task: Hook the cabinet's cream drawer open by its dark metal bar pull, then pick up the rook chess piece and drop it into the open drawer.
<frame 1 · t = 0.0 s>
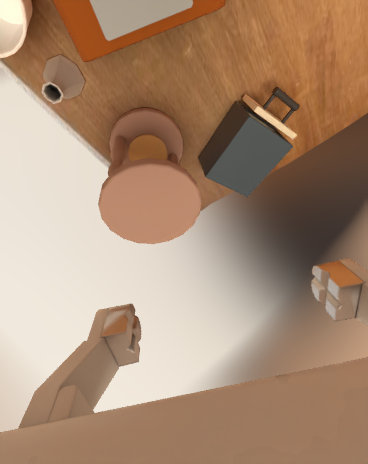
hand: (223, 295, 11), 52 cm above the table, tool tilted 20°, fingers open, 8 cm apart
hourglass: (146, 144, 59), on the table
drawer: (255, 134, 56), point 5 cm above the table, slide at 1.0 cm
cabinet: (236, 143, 62), on the table
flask: (64, 77, 47), on the table
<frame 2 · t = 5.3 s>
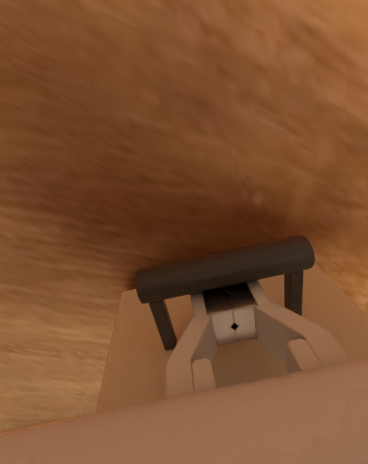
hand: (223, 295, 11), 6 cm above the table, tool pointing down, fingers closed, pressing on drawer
drawer: (235, 374, 15), point 5 cm above the table, slide at 4.4 cm, touching gripper
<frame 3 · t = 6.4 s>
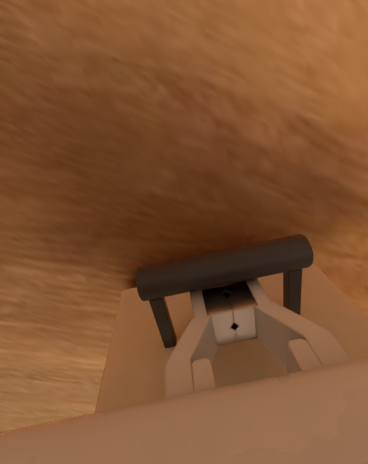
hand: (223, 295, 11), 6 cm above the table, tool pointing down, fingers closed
drawer: (234, 373, 15), point 5 cm above the table, slide at 8.4 cm
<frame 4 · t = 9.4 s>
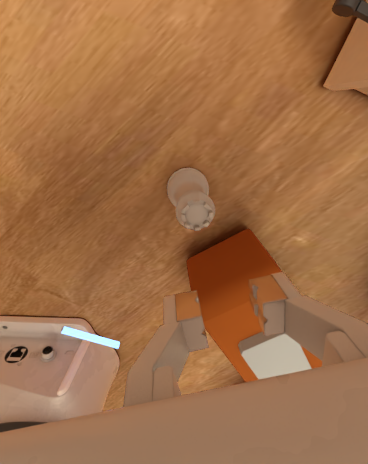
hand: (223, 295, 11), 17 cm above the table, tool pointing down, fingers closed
rook chess piece: (186, 187, 26), on the table
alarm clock: (249, 300, 34), on the table
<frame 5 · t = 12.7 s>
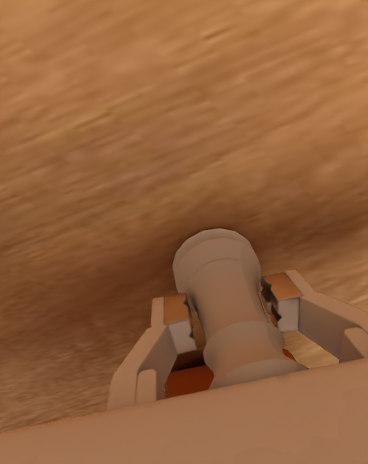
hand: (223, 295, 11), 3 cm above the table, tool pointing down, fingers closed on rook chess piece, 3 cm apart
rook chess piece: (211, 259, 13), on the table, touching gripper
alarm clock: (238, 430, 22), on the table
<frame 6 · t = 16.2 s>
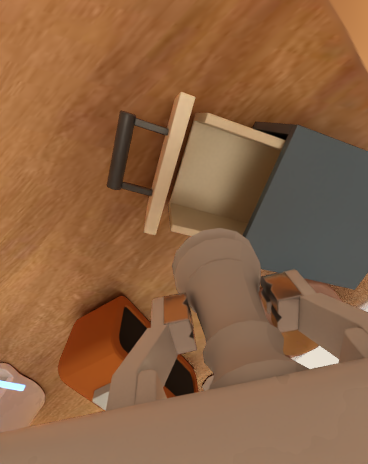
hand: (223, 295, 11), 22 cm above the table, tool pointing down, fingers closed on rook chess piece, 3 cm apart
rook chess piece: (211, 258, 13), point 19 cm above the table, touching gripper
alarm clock: (142, 343, 42), on the table
hourglass: (286, 314, 43), on the table
drawer: (205, 176, 25), point 5 cm above the table, slide at 8.4 cm
cabinet: (285, 193, 32), on the table
when the fingers open (8 cm above the table, at t = 19.8 s): rook chess piece drops 3 cm, resting on drawer.
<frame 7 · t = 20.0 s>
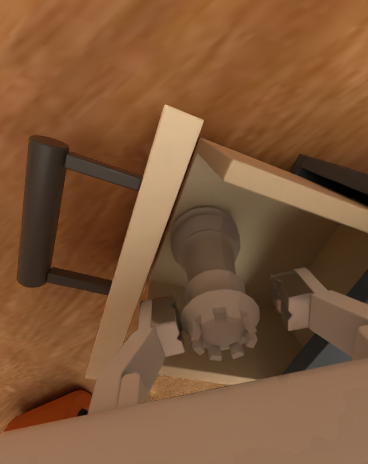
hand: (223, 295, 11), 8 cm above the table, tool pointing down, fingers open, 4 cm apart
rook chess piece: (203, 233, 16), point 2 cm above the table, touching drawer, gripper
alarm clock: (111, 438, 31), on the table
drawer: (213, 256, 14), point 5 cm above the table, slide at 8.4 cm, touching rook chess piece
cabinet: (332, 262, 21), on the table
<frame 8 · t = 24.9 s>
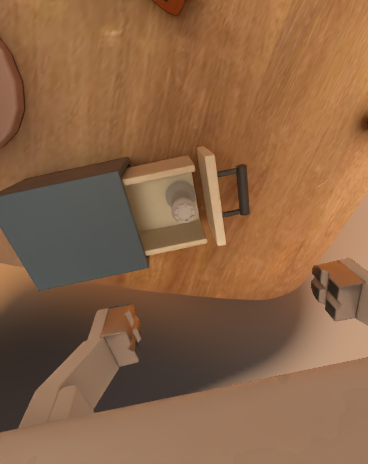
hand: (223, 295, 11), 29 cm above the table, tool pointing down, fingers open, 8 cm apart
rook chess piece: (180, 193, 37), point 2 cm above the table, touching drawer
vegetable: (366, 118, 36), on the table
drawer: (180, 201, 34), point 5 cm above the table, slide at 10.0 cm, touching rook chess piece
cabinet: (93, 209, 39), on the table
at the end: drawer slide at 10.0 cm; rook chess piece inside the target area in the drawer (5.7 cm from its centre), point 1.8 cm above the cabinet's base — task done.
